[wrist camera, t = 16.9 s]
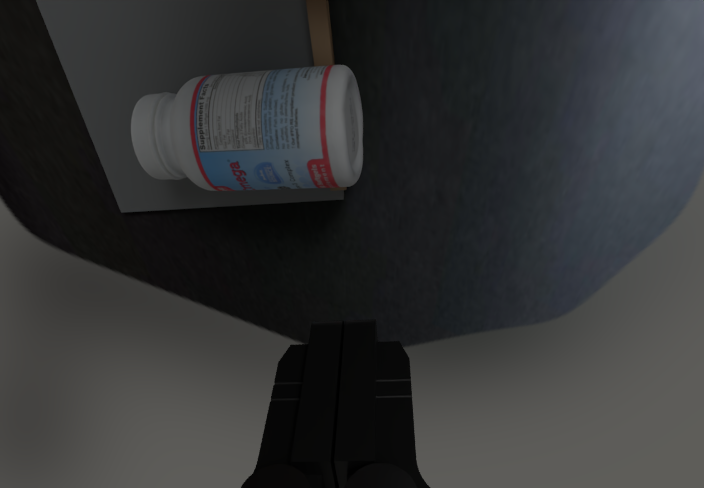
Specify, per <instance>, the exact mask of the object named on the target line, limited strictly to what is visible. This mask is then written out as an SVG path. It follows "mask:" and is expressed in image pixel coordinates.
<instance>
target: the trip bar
mask: <svg viewBox="0 0 704 488" xmlns="http://www.w3.org/2000/svg"><path fill="white" fill-rule="evenodd" d="M306 4H307V12H308V20H309V28H310V36H311V43H312V51H313V59H314V67H316V66H328V65H335V60H334V51H333V42H332V32H331V23H330V13H329V4H328V0H306ZM346 189H347V187H337V188H330V191H337V190H346Z"/></svg>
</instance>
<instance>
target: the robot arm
mask: <svg viewBox="0 0 704 488" xmlns="http://www.w3.org/2000/svg"><path fill="white" fill-rule="evenodd" d="M241 488H430V487H429V486H428V485H427V484H426V482H425V481H424V479H423V478H422V476H421V474H420V472H419V470H418V466H417V461H416V450H415V435H414V421H413V405H412V391H411V377H410V361H409V357H408V355H407V354H406V352H405V350H404V349H403V347H402V345H401V344H400V342H399V341H394V342H378V335H377V324H376V319H375V320H347V321H345V325H344V321H322V322H313V323H312V325H311V331H310V338H309V344H303V345H290V347H289V348H288V350H287V351H286V353H285V354H284V355H283V357H282V358H281V360H280V361H279V363H278V367H277V372H276V377H275V385H274V386H273V391H272V396H271V402H270V406H269V410H268V414H267V419H266V424H265V429H264V434H263V438H262V443H261V448H260V452H259V457H258V461H257V465H256V468H255V470H254V472H253V474H252V475H251V476H250V477H248V479H247V480H246V481H245V482H244V483H243V485H242V486H241Z"/></svg>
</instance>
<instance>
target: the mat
mask: <svg viewBox="0 0 704 488" xmlns="http://www.w3.org/2000/svg"><path fill="white" fill-rule="evenodd" d="M36 2H37V4H38V7H39V9H40V12H41V14H42V17H43V19H44V22H45V24H46V27H47V29H48V32H49V34H50V37H51V39H52V42H53V44H54V47H55V49H56V52H57V54H58V57H59V59H60V61H61V64H62V66H63V69H64V71H65V74H66V76H67V79H68V81H69V84H70V86H71V89H72V91H73V94H74V96H75V99H76V101H77V104H78V106H79V109H80V111H81V114H82V116H83V119H84V121H85V124H86V126H87V129H88V131H89V134H90V136H91V139H92V141H93V144H94V146H95V149H96V151H97V154H98V156H99V159H100V161H101V163H102V166H103V168H104V171H105V173H106V176H107V178H108V181H109V183H110V186H111V188H112V191H113V193H114V196H115V198H116V201H117V203H118V206H119V208H120V211H121V213H123V212H140V211H157V210H174V209H191V208H208V207H225V206H242V205H258V204H275V203H292V202H309V201H326V200H343V199H344V190H337V191H330V188H302V189H271V190H236V191H211V190H206V189H203V188H201V187H199V186H197V185H196V184H194V183H193V182H192V181H191V180H190V179H189V178H188V177H186V178H183V179H180V180H173V179H168V180H161V179H156V178H154V177H152V176H150V175H149V174H148V173H147V172H146V171H145V170H144V169H143V167H142V166H141V164H140V163H139V161H138V159H137V156H136V154H135V151H134V147H133V143H132V137H131V119H132V114H133V110H134V108H135V105H136V103H137V102H138V101H139V100H140V99H141V98H142V97H143V96H146V95H149V94H159V93H164V92H169V93H174V94H177V93H178V91H179V90H180V89H181V87H182V86H183V85H184V84H185V83H186V82H188V81H189V80H191V79H193V78H196V77H200V76H207V75H219V74H230V73H243V72H255V71H266V70H279V69H291V68H303V67H314V59H313V51H312V43H311V36H310V28H309V20H308V12H307V4H306V0H36Z"/></svg>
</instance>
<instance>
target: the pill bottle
mask: <svg viewBox="0 0 704 488" xmlns="http://www.w3.org/2000/svg"><path fill="white" fill-rule="evenodd" d="M131 137H132V143H133V147H134V151H135V154H136V156H137V159H138V161H139V163H140V164H141V166H142V167H143V169H144V170H145V171H146V172H147V173H148V174H149V175H150V176H152V177H154V178H156V179H161V180H168V179H173V180H180V179H183V178H186V177H188V178H189V179H190V180H191V181H192V182H193V183H194V184H196V185H197V186H199V187H201V188H203V189H206V190H211V191H236V190H271V189H302V188H337V187H350V186H352V185H354V184H355V183H356V182H357V180H358V179H359V176H360V173H361V170H362V164H363V142H362V139H363V114H362V105H361V99H360V94H359V89H358V85H357V81H356V78H355V76H354V74H353V72H352V71H351V70H350V68H348V67H347V66H345V65H328V66H316V67H303V68H291V69H279V70H266V71H255V72H243V73H230V74H219V75H207V76H200V77H196V78H193V79H191V80H189V81H188V82H186V83H185V84H184V85H183V86H182V87H181V89H180V90H179V91H178V93H177V94H174V93H169V92H164V93H159V94H149V95H146V96H143V97H142V98H141V99H140V100H139V101H138V102H137V103H136V105H135V108H134V110H133V114H132V119H131Z"/></svg>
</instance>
